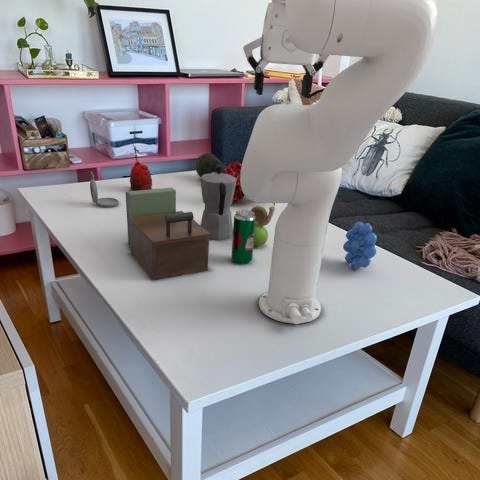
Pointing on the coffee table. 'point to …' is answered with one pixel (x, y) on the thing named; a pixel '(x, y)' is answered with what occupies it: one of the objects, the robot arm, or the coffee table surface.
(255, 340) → the coffee table surface
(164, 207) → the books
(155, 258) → the chest
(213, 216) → the coffeepot
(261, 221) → the snail figurine
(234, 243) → the soda can
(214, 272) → the coffee table surface
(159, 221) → the lid
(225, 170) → the carnation
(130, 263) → the coffee table surface
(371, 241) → the grapes
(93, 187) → the pocket watch
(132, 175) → the red clay folk toy
